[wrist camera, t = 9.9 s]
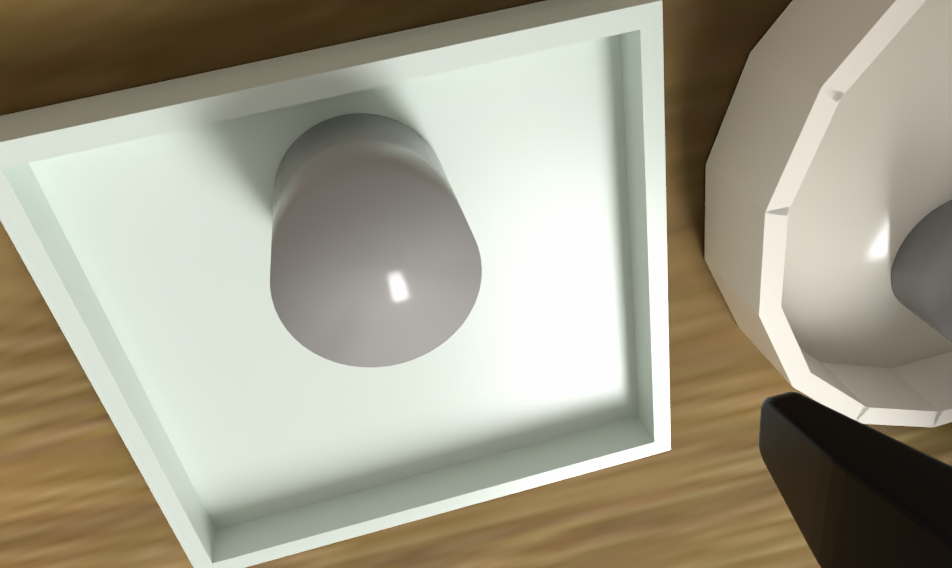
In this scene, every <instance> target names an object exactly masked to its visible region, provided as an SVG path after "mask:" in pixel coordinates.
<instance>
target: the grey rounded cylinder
mask: <svg viewBox="0 0 952 568" xmlns="http://www.w3.org/2000/svg"><path fill="white" fill-rule="evenodd" d="M891 287H892V291H893V293H894V296H895V297H896V299H897V300H898V301H899V302H900V303H901V304H902V305H903V306H905V307H906V308H907V309H908V310H910V311H911V312H912V313H914V314H915V315H916V316H918V317H919V318H920V319H922V320H923V321H924V322H925V323H927V324H928V325H929V326H931V327H932V328H933V329H935V330H936V331H937V332H938V333H940V334H941V335H942V336H944V337H945V338H946V339H948V340H949V341H950V342H951V343H952V200H949V201H948V202H946V203H944V204H942V205H940V206H939V207H937V208H936V209H934V210H933V211H931V212H930V213H929V214H928V215H926V216H925V217H924V218H923V219H922V220H921V221H920V222H919V223H918V224H917V225H916V226H915V227H914V228H913V229H912V230H911V231H910V233H909V234H908V235H907V237H906V238H905V239H904V241H903V243H902V244H901V246H900V248H899V250H898V252H897V254H896V256H895V259H894V262H893V265H892V270H891Z"/></svg>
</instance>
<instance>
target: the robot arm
mask: <svg viewBox="0 0 952 568" xmlns="http://www.w3.org/2000/svg"><path fill="white" fill-rule="evenodd" d="M759 448H760V453H761V456H762V458H763V461H764V463H765V465H766V467H767V468H768V470H769V472H770V474H771V476H772V478H773V480H774V482H775V484H776V485H777V487H778V489H779V491H780V493H781V495H782V497H783V499H784V500H785V502H786V504H787V506H788V508H789V510H790V512H791V514H792V516H793V517H794V519H795V521H796V523H797V525H798V527H799V529H800V531H801V532H802V534H803V536H804V538H805V540H806V542H807V544H808V546H809V547H810V549H811V551H812V553H813V555H814V556H815V558H816V560H817V562H818V563H819V565H820V566H821V568H952V466H950V465H948V464H946V463H944V462H941V461H939V460H937V459H935V458H933V457H931V456H929V455H927V454H925V453H923V452H921V451H919V450H917V449H914V448H912V447H910V446H908V445H906V444H904V443H902V442H900V441H898V440H896V439H894V438H892V437H889V436H887V435H885V434H883V433H881V432H879V431H877V430H875V429H873V428H871V427H869V426H867V425H864V424H862V423H860V422H858V421H856V420H854V419H852V418H850V417H848V416H846V415H844V414H842V413H839V412H837V411H835V410H833V409H831V408H829V407H827V406H825V405H823V404H821V403H819V402H817V401H814V400H812V399H810V398H808V397H806V396H804V395H802V394H800V393H797V392H787V393H783V394H779V395H776V396H772V397H768V398H766V399H765V400H764V401H763V403H762V407H761V418H760V433H759Z"/></svg>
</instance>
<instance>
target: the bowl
mask: <svg viewBox="0 0 952 568" xmlns="http://www.w3.org/2000/svg"><path fill="white" fill-rule="evenodd" d="M949 200H952V0H792V1H791V3H790V4H789V5H788V6H787V8H786V9H785V10H784V11H783V13H782V14H781V15H780V16H779V18H778V19H777V20H776V21H775V22H774V24H773V25H772V26H771V27H770V29H769V30H768V31H767V32H766V34H765V35H764V36H763V37H762V39H761V40H760V41H759V42H758V44H757V45H756V46H755V47H754V48H753V50H752V51H751V52H750V54H749V56H748V59H747V61H746V64H745V67H744V69H743V72H742V74H741V77H740V79H739V82H738V84H737V87H736V89H735V92H734V94H733V97H732V99H731V102H730V104H729V107H728V109H727V112H726V115H725V117H724V120H723V122H722V125H721V127H720V130H719V132H718V135H717V137H716V140H715V142H714V145H713V147H712V150H711V152H710V155H709V157H708V160H707V162H706V174H705V257H704V260H705V262H706V264H707V266H708V268H709V270H710V272H711V274H712V276H713V278H714V280H715V282H716V284H717V286H718V288H719V290H720V292H721V294H722V295H723V297H724V299H725V301H726V303H727V305H728V307H729V309H730V311H731V313H732V315H733V317H734V319H735V321H736V323H737V325H738V327H739V328H740V329H741V330H742V332H743V333H744V334H745V335H746V336H747V337H748V338H749V339H750V340H751V341H752V343H753V344H754V345H755V346H756V347H757V348H758V349H759V350H760V351H761V352H762V354H763V355H764V356H765V357H766V358H767V359H768V360H769V361H770V362H771V364H772V365H773V366H774V367H775V368H776V369H777V370H778V371H779V372H780V373H781V375H782V376H783V377H784V378H785V379H786V380H787V381H788V382H789V383H790V385H791V386H792V387H794V388H796V389H797V390H799V391H801V392H802V393H804V394H806V395H807V396H809V397H811V398H812V399H814V400H816V401H817V402H819V403H821V404H823V405H825V406H827V407H829V408H831V409H833V410H835V411H837V412H839V413H842V414H844V415H846V416H848V417H850V418H852V419H854V420H856V421H858V422H860V423H862V424H878V425H896V426H915V427H936V426H940V425H943V424H947V423H950V422H952V343H951V342H950V341H949V340H948V339H946V338H945V337H944V336H942V335H941V334H940V333H938V332H937V331H936V330H935V329H933V328H932V327H931V326H929V325H928V324H927V323H925V322H924V321H923V320H922V319H920V318H919V317H918V316H916V315H915V314H914V313H912V312H911V311H910V310H908V309H907V308H906V307H905V306H903V305H902V304H901V303H900V302H899V301H898V300H897V299H896V297H895V296H894V293H893V291H892V287H891V270H892V265H893V262H894V259H895V256H896V254H897V252H898V250H899V248H900V246H901V244H902V243H903V241H904V239H905V238H906V237H907V235H908V234H909V233H910V231H911V230H912V229H913V228H914V227H915V226H916V225H917V224H918V223H919V222H920V221H921V220H922V219H923V218H924V217H925V216H926V215H928V214H929V213H930V212H931V211H933V210H934V209H936V208H937V207H939V206H940V205H942V204H944V203H946V202H948V201H949Z"/></svg>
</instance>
